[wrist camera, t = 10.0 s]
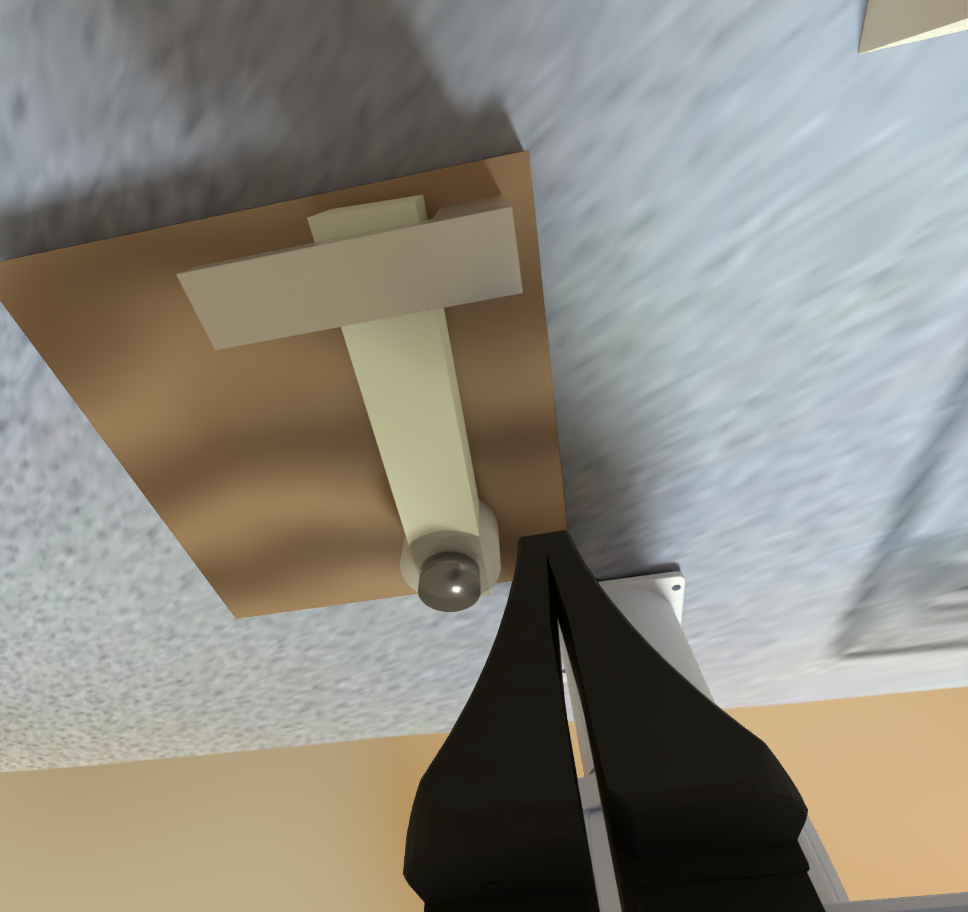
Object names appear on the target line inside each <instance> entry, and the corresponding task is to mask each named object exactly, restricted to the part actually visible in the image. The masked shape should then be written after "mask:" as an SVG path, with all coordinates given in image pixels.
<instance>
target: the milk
mask: <svg viewBox="0 0 968 912" xmlns="http://www.w3.org/2000/svg"><path fill="white" fill-rule="evenodd" d="M967 29H968V0H868V5H867V10H866V15H865V20H864V25H863V30H862V35H861V40H860V45H859V51H858V54H862V53H866V52H870V51H875V50H879V49H884V48H888V47H892V46H897V45H901V44H905V43H910V42H914V41H919V40H923V39H927V38H932V37H936V36H941V35H945V34H949V33H954V32H958V31H963V30H967Z"/></svg>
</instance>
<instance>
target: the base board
mask: <svg viewBox="0 0 968 912" xmlns="http://www.w3.org/2000/svg"><path fill="white" fill-rule="evenodd" d="M498 194H502V195H503V196H504V197H505V199H506V200H507V201H508V202H509V204H510V205H511V206H512V210H513V218H514V226H515V234H516V242H517V250H518V258H519V266H520V274H521V282H522V290H523V293H520V294H514V295H509V296H504V297H498V298H493V299H487V300H482V301H477V302H471V303H466V304H461V305H455V306H450V307H445V308H444V312H445V317H446V323H447V328H448V334H449V339H450V345H451V350H452V356H453V361H454V367H455V372H456V378H457V383H458V389H459V394H460V400H461V405H462V411H463V416H464V422H465V427H466V433H467V438H468V444H469V449H470V455H471V460H472V466H473V471H474V477H475V482H476V488H477V493H478V499H479V500H480V501H482V502H483V503H485V504H486V505H487V506H488V507H489V508H490V509H491V510H492V511H493V513H494V515H495V517H496V519H497V523H498V534H499V548H500V563H501V569H500V574H499V577H498V579H497V581H496V582H495V583H499V582H506V581H513V577H514V571H515V566H516V559H517V550H518V540H519V539H520V538H521V537H524V536H530V535H536V534H543V533H549V532H555V531H561V530H566V531H567V522H566V512H565V502H564V493H563V483H562V473H561V463H560V453H559V444H558V434H557V424H556V414H555V405H554V395H553V385H552V375H551V365H550V356H549V346H548V336H547V326H546V317H545V307H544V297H543V287H542V277H541V268H540V258H539V248H538V238H537V229H536V219H535V209H534V199H533V189H532V180H531V170H530V160H529V150H528V151H522V152H517V153H512V154H508V155H503V156H498V157H493V158H489V159H484V160H479V161H474V162H470V163H465V164H460V165H455V166H451V167H446V168H441V169H436V170H432V171H427V172H422V173H417V174H413V175H408V176H403V177H398V178H394V179H389V180H384V181H379V182H375V183H370V184H365V185H360V186H356V187H351V188H346V189H341V190H337V191H332V192H327V193H322V194H318V195H313V196H308V197H303V198H299V199H294V200H289V201H284V202H280V203H275V204H270V205H265V206H261V207H256V208H251V209H246V210H242V211H237V212H232V213H227V214H223V215H218V216H213V217H208V218H204V219H199V220H194V221H189V222H185V223H180V224H175V225H170V226H166V227H161V228H156V229H151V230H147V231H142V232H137V233H132V234H128V235H123V236H118V237H113V238H109V239H104V240H99V241H94V242H90V243H85V244H80V245H75V246H71V247H66V248H61V249H56V250H52V251H47V252H42V253H37V254H33V255H28V256H23V257H18V258H14V259H9V260H4V261H0V301H1V302H2V304H3V305H4V307H5V308H6V309H7V311H8V312H9V313H10V315H11V316H12V317H13V319H14V320H15V321H16V323H17V324H18V325H19V327H20V328H21V329H22V331H23V332H24V333H25V335H26V336H27V338H28V339H29V340H30V342H31V343H32V344H33V346H34V347H35V348H36V350H37V351H38V352H39V354H40V355H41V356H42V358H43V359H44V360H45V362H46V363H47V365H48V366H49V367H50V369H51V370H52V371H53V373H54V374H55V375H56V377H57V378H58V379H59V381H60V382H61V383H62V385H63V386H64V387H65V389H66V390H67V392H68V393H69V394H70V396H71V397H72V398H73V400H74V401H75V402H76V404H77V405H78V406H79V408H80V409H81V410H82V412H83V413H84V414H85V416H86V417H87V418H88V420H89V421H90V423H91V424H92V425H93V427H94V428H95V429H96V431H97V432H98V433H99V435H100V436H101V437H102V439H103V440H104V441H105V443H106V444H107V445H108V447H109V448H110V450H111V451H112V452H113V454H114V455H115V456H116V458H117V459H118V460H119V462H120V463H121V464H122V466H123V467H124V468H125V470H126V471H127V472H128V474H129V475H130V477H131V478H132V479H133V481H134V482H135V483H136V485H137V486H138V487H139V489H140V490H141V491H142V493H143V494H144V495H145V497H146V498H147V499H148V501H149V502H150V504H151V505H152V506H153V508H154V509H155V510H156V512H157V513H158V514H159V516H160V517H161V518H162V520H163V521H164V522H165V524H166V525H167V526H168V528H169V529H170V530H171V532H172V533H173V535H174V536H175V537H176V539H177V540H178V541H179V543H180V544H181V545H182V547H183V548H184V549H185V551H186V552H187V553H188V555H189V556H190V557H191V559H192V560H193V562H194V563H195V564H196V566H197V567H198V568H199V570H200V571H201V572H202V574H203V575H204V576H205V578H206V579H207V580H208V582H209V583H210V584H211V586H212V587H213V589H214V590H215V591H216V593H217V594H218V595H219V597H220V598H221V599H222V601H223V602H224V603H225V605H226V606H227V607H228V609H229V610H230V611H231V613H232V614H233V615H234V617H235V618H236V619H237V618H244V617H251V616H259V615H266V614H273V613H281V612H288V611H295V610H302V609H310V608H317V607H324V606H332V605H339V604H346V603H353V602H361V601H368V600H375V599H382V598H390V597H397V596H404V595H412V594H418V592H416V591H415V590H413V589H412V588H411V587H410V586H409V585H408V584H407V583H406V581H405V580H404V578H403V576H402V574H401V570H400V560H401V555H402V549H403V543H404V538H405V532H404V528H403V525H402V522H401V519H400V515H399V512H398V509H397V506H396V503H395V499H394V496H393V493H392V490H391V486H390V483H389V480H388V477H387V474H386V470H385V467H384V464H383V461H382V457H381V454H380V451H379V448H378V445H377V441H376V438H375V435H374V432H373V429H372V425H371V422H370V419H369V416H368V412H367V409H366V406H365V403H364V400H363V396H362V393H361V390H360V387H359V383H358V380H357V377H356V374H355V371H354V367H353V364H352V361H351V358H350V354H349V351H348V348H347V345H346V342H345V338H344V335H343V332H342V329H341V327H337V328H332V329H326V330H321V331H316V332H310V333H305V334H300V335H294V336H289V337H283V338H278V339H273V340H267V341H262V342H257V343H251V344H246V345H241V346H235V347H230V348H224V349H219V350H215V349H214V347H213V345H212V343H211V341H210V339H209V337H208V335H207V333H206V331H205V329H204V327H203V325H202V324H201V322H200V320H199V318H198V316H197V314H196V312H195V310H194V308H193V306H192V304H191V302H190V300H189V298H188V297H187V295H186V293H185V291H184V289H183V287H182V285H181V283H180V281H179V279H178V277H177V275H176V274H178V273H181V272H183V271H186V270H189V269H191V268H194V267H196V266H201V265H206V264H211V263H216V262H221V261H226V260H231V259H236V258H241V257H246V256H251V255H256V254H261V253H265V252H270V251H275V250H280V249H285V248H290V247H295V246H300V245H305V244H310V243H315V242H314V238H313V235H312V232H311V229H310V226H309V222H308V219H307V218H308V217H311V216H314V215H316V214H319V213H322V212H325V211H327V210H330V209H336V208H342V207H348V206H354V205H361V204H367V203H373V202H380V201H386V200H392V199H398V198H405V197H411V196H417V195H423V196H424V202H425V207H426V213H427V218H428V220H429V219H433V217H434V216H435V214H436V213H437V211H438V210H439V208H440V207H441V206H444V205H449V204H454V203H458V202H463V201H468V200H473V199H478V198H483V197H488V196H493V195H498Z"/></svg>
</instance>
